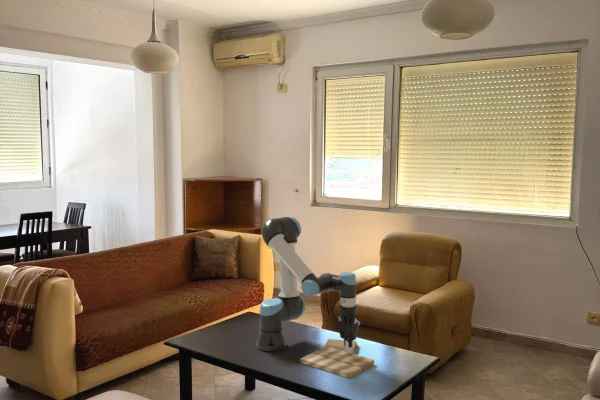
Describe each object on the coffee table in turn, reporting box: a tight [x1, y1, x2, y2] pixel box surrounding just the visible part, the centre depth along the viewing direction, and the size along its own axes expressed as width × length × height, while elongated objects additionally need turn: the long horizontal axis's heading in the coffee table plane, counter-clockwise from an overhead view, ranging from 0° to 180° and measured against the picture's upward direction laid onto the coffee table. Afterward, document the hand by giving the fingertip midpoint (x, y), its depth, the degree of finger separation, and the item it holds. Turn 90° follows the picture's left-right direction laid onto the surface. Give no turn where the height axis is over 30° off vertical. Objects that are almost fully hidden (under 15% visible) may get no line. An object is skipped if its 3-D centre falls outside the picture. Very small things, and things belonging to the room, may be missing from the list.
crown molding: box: [324, 338, 358, 354], centre depth 265 cm, size 14×15×4 cm
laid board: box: [300, 352, 363, 380], centre depth 241 cm, size 28×9×2 cm, turn 51°
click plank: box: [312, 345, 375, 373], centre depth 249 cm, size 28×10×2 cm, turn 51°
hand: (348, 353), depth 252 cm, fingers closed
